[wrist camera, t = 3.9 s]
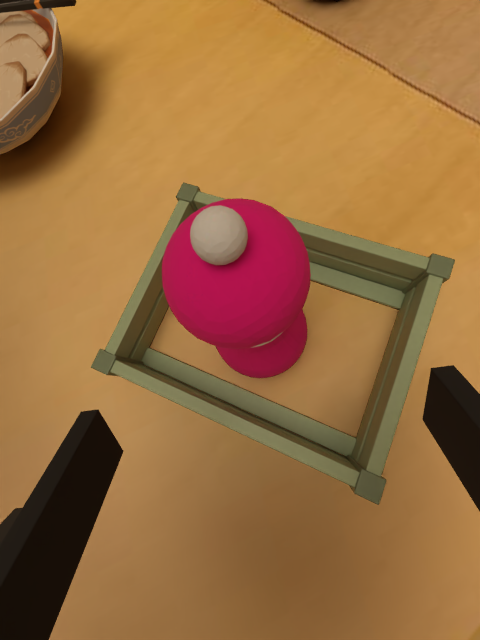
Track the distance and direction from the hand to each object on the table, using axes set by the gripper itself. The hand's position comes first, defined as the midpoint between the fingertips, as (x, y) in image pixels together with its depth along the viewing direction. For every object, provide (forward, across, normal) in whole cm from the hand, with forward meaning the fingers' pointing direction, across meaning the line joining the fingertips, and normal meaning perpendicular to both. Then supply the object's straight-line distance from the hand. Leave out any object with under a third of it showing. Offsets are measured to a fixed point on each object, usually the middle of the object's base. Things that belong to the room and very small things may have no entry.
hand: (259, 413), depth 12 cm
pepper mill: (+14, 0, -6) cm, 16 cm away
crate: (+15, 0, -6) cm, 16 cm away
